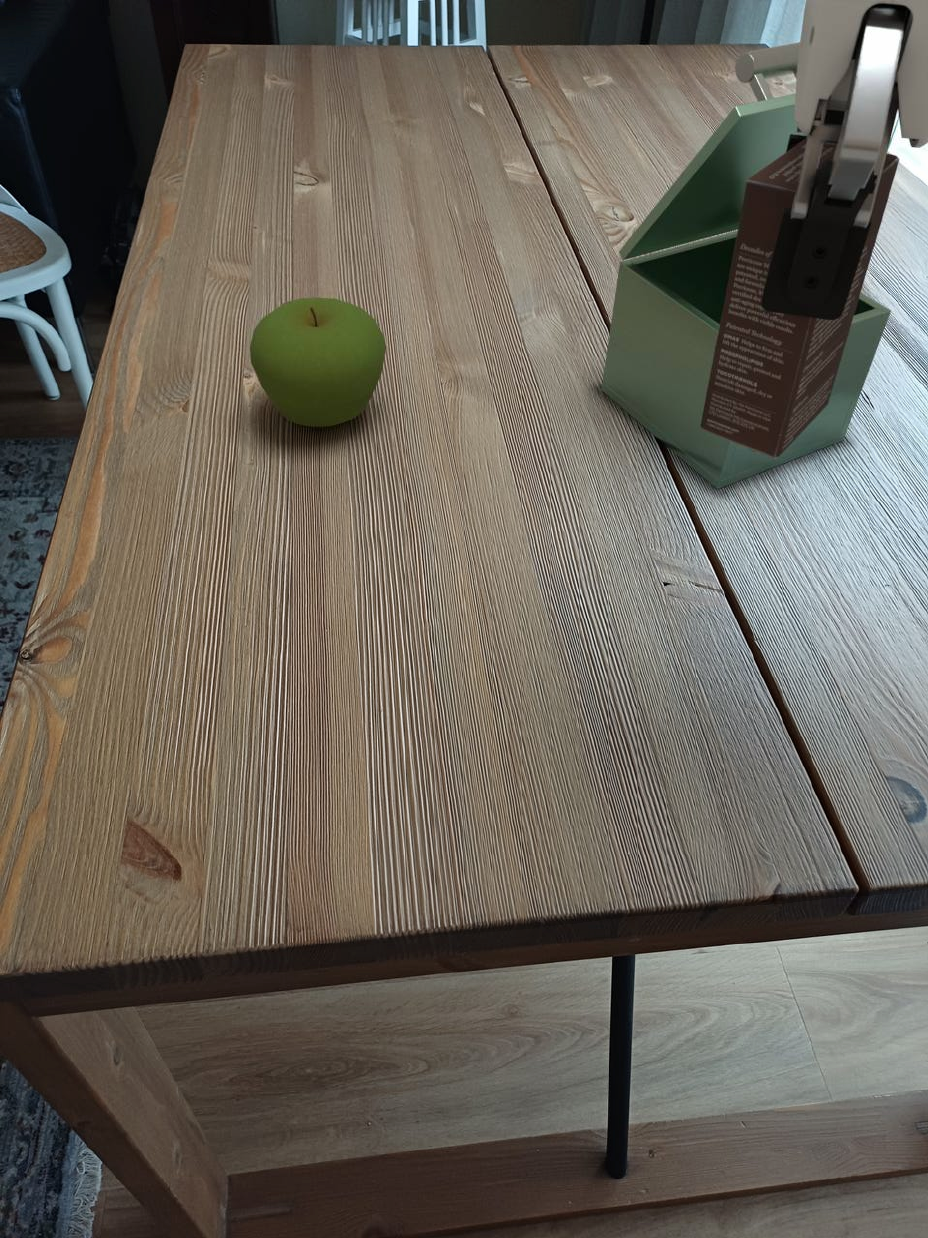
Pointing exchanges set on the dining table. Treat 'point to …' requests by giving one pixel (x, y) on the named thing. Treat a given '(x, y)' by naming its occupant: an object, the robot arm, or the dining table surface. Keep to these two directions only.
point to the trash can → (708, 358)
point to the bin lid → (725, 161)
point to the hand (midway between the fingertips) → (802, 266)
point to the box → (776, 324)
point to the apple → (318, 360)
